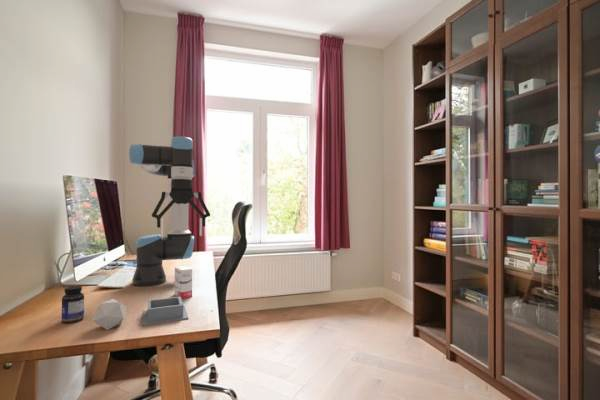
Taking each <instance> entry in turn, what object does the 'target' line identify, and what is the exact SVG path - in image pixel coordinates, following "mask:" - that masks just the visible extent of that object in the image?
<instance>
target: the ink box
mask: <svg viewBox="0 0 600 400" xmlns="http://www.w3.org/2000/svg"><path fill="white" fill-rule="evenodd" d="M173 294H174V295H175V297H181V299H188V298H191V297H193V268H190V267H187V266H185V265H184V266H182V265H181V266H175V267H174V292H173Z"/></svg>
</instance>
